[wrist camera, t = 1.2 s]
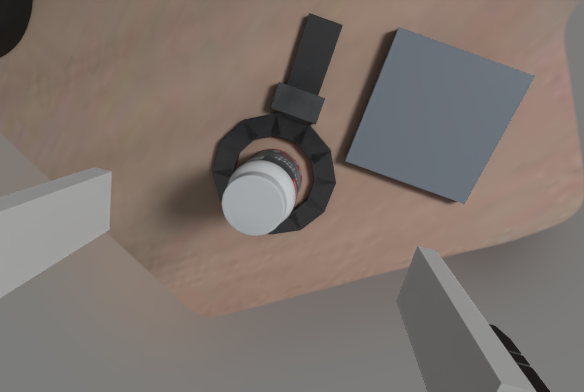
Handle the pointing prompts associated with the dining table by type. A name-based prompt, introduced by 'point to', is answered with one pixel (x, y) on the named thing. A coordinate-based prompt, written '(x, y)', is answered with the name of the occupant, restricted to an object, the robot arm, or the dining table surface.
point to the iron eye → (293, 123)
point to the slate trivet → (435, 115)
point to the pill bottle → (262, 192)
